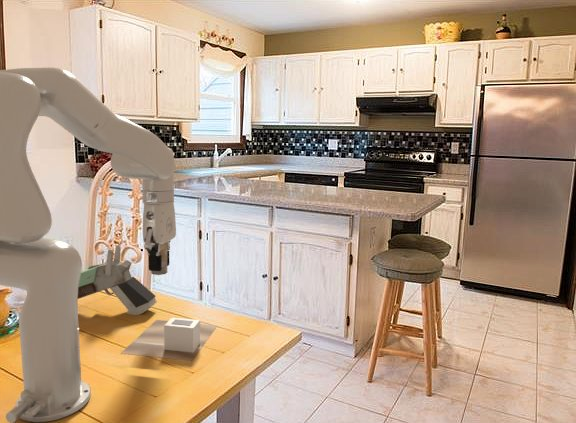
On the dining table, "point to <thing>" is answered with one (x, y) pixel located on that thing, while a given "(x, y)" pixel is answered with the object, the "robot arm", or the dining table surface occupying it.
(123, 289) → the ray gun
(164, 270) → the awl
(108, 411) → the dining table surface
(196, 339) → the white rectangular block
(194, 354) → the board
